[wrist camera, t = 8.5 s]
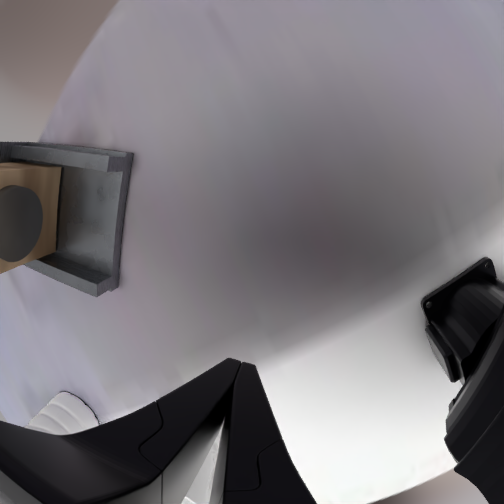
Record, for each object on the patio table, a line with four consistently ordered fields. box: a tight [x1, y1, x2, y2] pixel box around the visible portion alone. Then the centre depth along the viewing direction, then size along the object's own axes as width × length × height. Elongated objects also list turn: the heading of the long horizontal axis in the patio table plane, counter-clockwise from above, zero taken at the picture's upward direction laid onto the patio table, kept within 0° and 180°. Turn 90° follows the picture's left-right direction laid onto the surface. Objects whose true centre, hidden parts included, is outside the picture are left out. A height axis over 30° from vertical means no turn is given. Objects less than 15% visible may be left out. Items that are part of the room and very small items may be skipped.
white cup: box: [181, 422, 224, 504], centre depth 20 cm, size 8×8×10 cm
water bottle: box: [24, 392, 99, 435], centre depth 17 cm, size 9×6×25 cm
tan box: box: [0, 162, 62, 274], centre depth 17 cm, size 6×7×8 cm
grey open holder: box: [0, 142, 133, 297], centre depth 18 cm, size 13×10×8 cm
